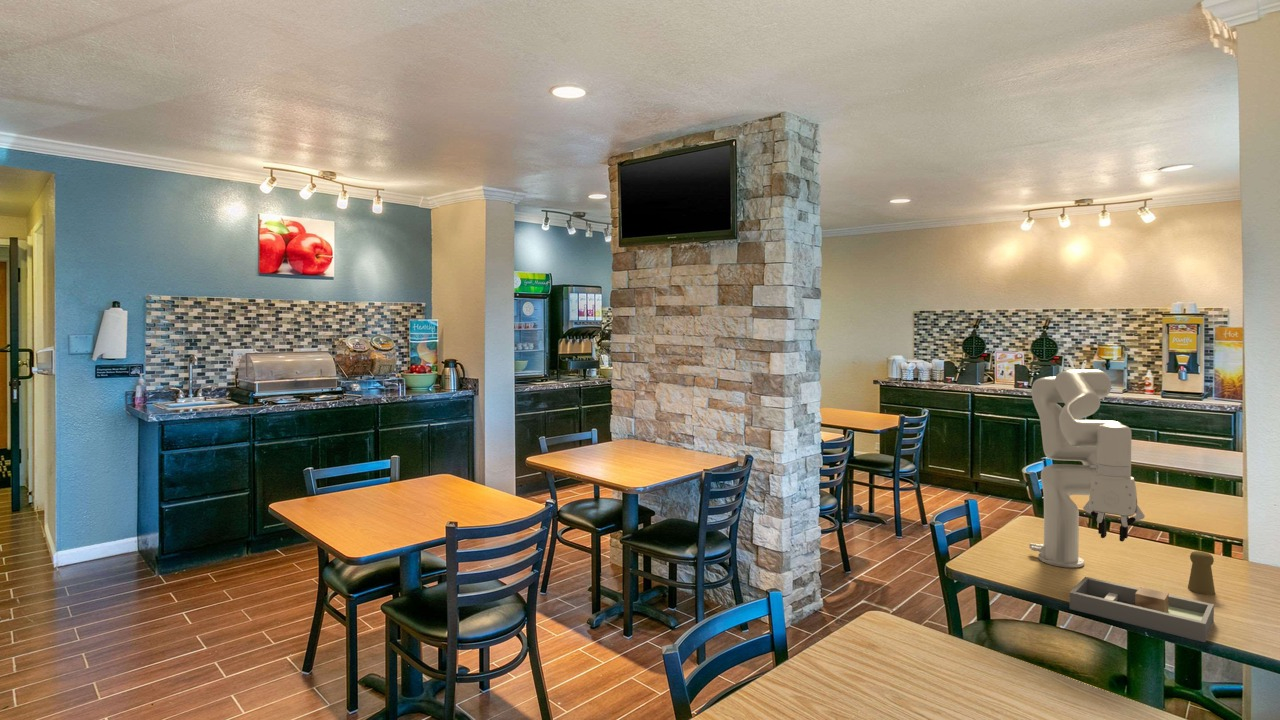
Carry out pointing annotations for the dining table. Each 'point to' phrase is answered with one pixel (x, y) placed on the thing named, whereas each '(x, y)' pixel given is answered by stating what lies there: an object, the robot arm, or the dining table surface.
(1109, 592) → the channel
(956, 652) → the dining table surface
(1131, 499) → the robot arm
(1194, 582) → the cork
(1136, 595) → the walnut block
